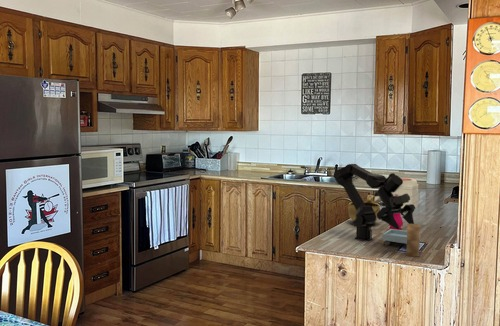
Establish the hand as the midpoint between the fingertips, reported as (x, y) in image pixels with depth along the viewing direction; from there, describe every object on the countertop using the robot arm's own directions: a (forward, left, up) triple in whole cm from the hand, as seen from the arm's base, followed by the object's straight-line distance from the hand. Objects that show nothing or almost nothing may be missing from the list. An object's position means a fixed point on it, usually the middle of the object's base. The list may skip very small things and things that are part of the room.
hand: (406, 227), depth 208 cm
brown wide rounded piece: (-35, +43, -11) cm, 57 cm away
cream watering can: (-37, +105, -11) cm, 112 cm away
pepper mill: (-15, +36, -11) cm, 41 cm away
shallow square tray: (-5, +12, -11) cm, 17 cm away
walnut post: (+4, -2, -11) cm, 12 cm away
